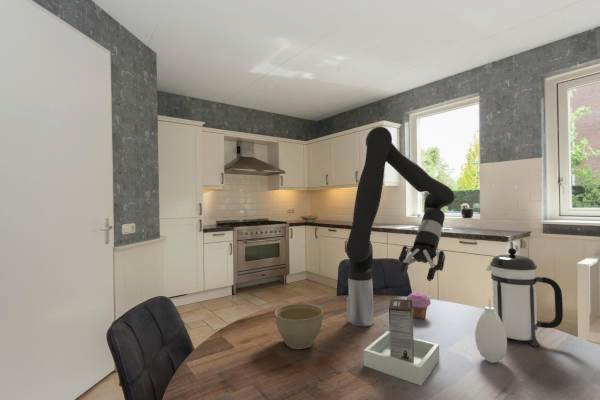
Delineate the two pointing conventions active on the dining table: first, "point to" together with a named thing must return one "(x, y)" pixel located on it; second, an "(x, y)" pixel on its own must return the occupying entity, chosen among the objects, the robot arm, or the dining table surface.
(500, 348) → the sauce bottle
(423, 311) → the cupcake
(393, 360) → the tub
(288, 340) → the planter bowl
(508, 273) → the coffee press
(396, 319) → the coffee box
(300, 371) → the dining table surface
